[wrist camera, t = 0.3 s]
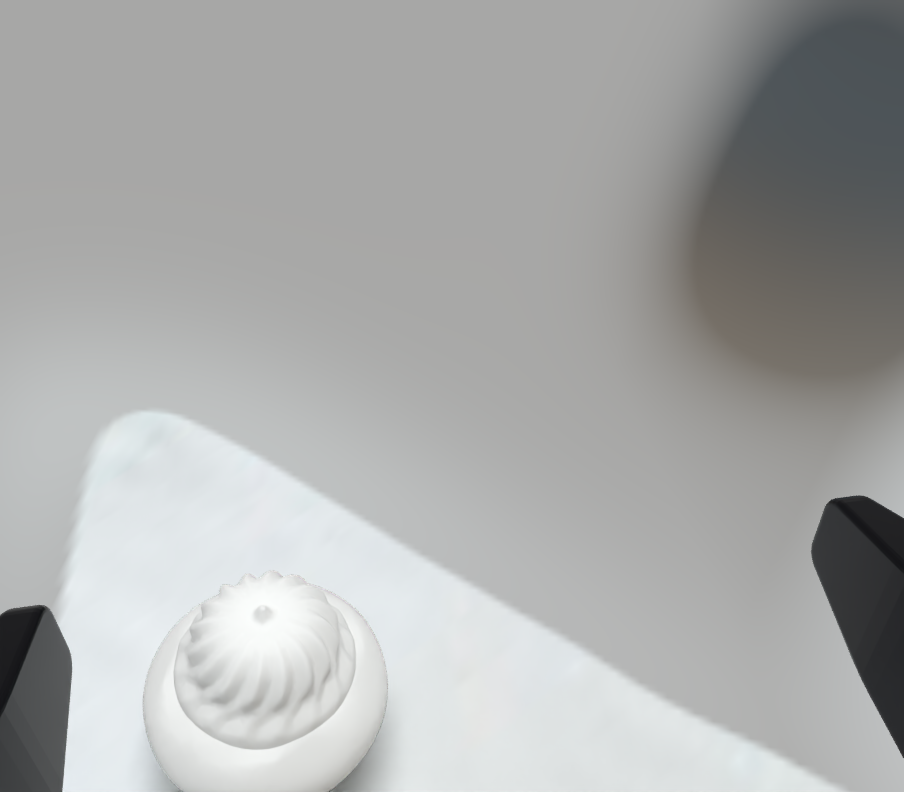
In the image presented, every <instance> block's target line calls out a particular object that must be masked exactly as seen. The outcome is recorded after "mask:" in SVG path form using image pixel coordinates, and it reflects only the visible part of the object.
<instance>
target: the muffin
mask: <svg viewBox="0 0 904 792" xmlns="http://www.w3.org/2000/svg"><path fill="white" fill-rule="evenodd" d="M387 695H388V679H387V671H386V665H385V661H384V657H383V654H382V651H381V648H380V645H379V643H378V641H377V638H376V636H375V634H374V632H373V631H372V629H371V627H370V626H369V624H368V623H367V621H366V620H365V619H364V618H363V616H362V615H361V614H360V613H359V612H358V611H357V610H356V609H355V608H354V607H353V606H352V605H351V604H349V603H348V602H347V601H345V600H344V599H342V598H341V597H339V596H338V595H336V594H334V593H332V592H330V591H328V590H326V589H324V588H321V587H319V586H316V585H313V584H309V583H307V582H306V581H305V580H304V579H303V578H302V577H300V576H298V575H288V576H284V577H283V576H282V575H281V574H280V573H278V572H277V571H268V572H266V573H265V574H263V575H262V576H261V577H259V578H257V577H255V576H253V575H251V574H245V575H244V576H243V577H242V578H241V580H240V582H239V583H238V584H237V585H235V586H233V585H227V584H223V585H221V587H220V590H219V594H218V595H216V596H214V597H212V598H210V599H208V600H206V601H204V602H202V603H201V604H199V605H198V606H196V607H194V608H193V609H192V610H190V611H189V612H188V613H187V614H186V615H184V616H183V617H182V618H181V619H180V620H179V621H178V622H177V623H176V624H175V625H174V627H173V628H172V629H171V630H170V631H169V633H168V634H167V635H166V637H165V638H164V640H163V642H162V643H161V645H160V646H159V648H158V650H157V652H156V654H155V656H154V658H153V661H152V663H151V665H150V668H149V671H148V674H147V678H146V681H145V687H144V694H143V716H144V723H145V728H146V733H147V736H148V740H149V743H150V746H151V748H152V751H153V753H154V756H155V758H156V760H157V761H158V763H159V765H160V766H161V768H162V770H163V771H164V773H165V774H166V775H167V777H168V778H169V779H170V780H171V781H172V782H173V783H174V784H175V785H176V786H177V787H178V788H179V789H180V790H182V791H183V792H328V791H329V790H331V789H333V788H335V787H336V785H337V784H339V783H340V782H341V781H342V780H343V779H345V778H346V777H347V776H348V775H349V774H350V773H351V772H352V771H353V769H354V768H355V767H356V766H357V765H358V764H359V763H360V761H361V760H362V759H363V757H364V756H365V755H366V753H367V752H368V750H369V749H370V747H371V745H372V744H373V742H374V740H375V738H376V736H377V734H378V732H379V729H380V727H381V724H382V721H383V718H384V714H385V710H386V704H387Z"/></svg>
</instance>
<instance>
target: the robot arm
mask: <svg viewBox="0 0 904 792" xmlns="http://www.w3.org/2000/svg"><path fill="white" fill-rule="evenodd" d="M811 554H812V560H813V564H814V567H815V569H816V572H817V574H818V577H819V579H820V582H821V584H822V586H823V589H824V591H825V593H826V596H827V599H828V601H829V603H830V606H831V608H832V611H833V613H834V616H835V618H836V620H837V623H838V625H839V628H840V630H841V633H842V635H843V638H844V640H845V642H846V645H847V647H848V650H849V652H850V655H851V657H852V659H853V662H854V664H855V666H856V668H857V670H858V673H859V675H860V677H861V679H862V681H863V683H864V685H865V687H866V689H867V691H868V693H869V695H870V697H871V699H872V700H873V702H874V704H875V706H876V708H877V710H878V711H879V714H880V715H881V717H882V719H883V721H884V723H885V725H886V727H887V728H888V730H889V732H890V734H891V736H892V738H893V740H894V741H895V743H896V745H897V747H898V749H899V751H900V753H901V754H902V756H903V758H904V518H902V517H901V516H899V515H897V514H896V513H894V512H892V511H891V510H889V509H887V508H885V507H884V506H882V505H880V504H879V503H877V502H875V501H874V500H872V499H870V498H868V497H865V496H850V497H843V498H835V499H833V500H831V501H829V502H828V503H827V504H826V506H825V509H824V511H823V514H822V517H821V520H820V523H819V526H818V528H817V531H816V534H815V537H814V540H813V543H812V550H811ZM71 679H72V659H71V654H70V650H69V648H68V646H67V643H66V641H65V639H64V637H63V635H62V633H61V631H60V629H59V626H58V624H57V622H56V620H55V618H54V616H53V614H52V612H51V611H50V609H49V608H48V607H46V606H44V605H35V606H28V607H20V608H13V609H9V610H7V611H5V612H4V613H2V614H1V615H0V792H62V788H63V776H64V764H65V752H66V740H67V728H68V715H69V703H70V691H71Z"/></svg>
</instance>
